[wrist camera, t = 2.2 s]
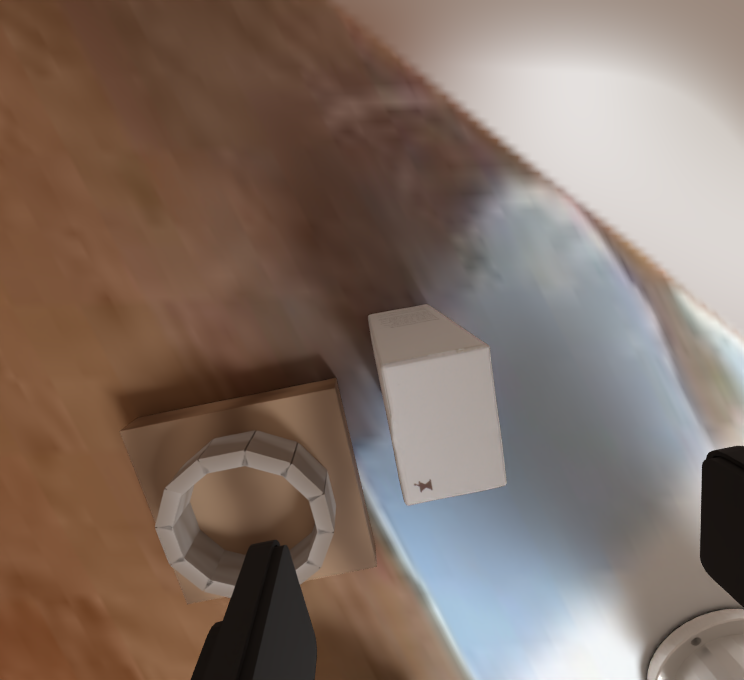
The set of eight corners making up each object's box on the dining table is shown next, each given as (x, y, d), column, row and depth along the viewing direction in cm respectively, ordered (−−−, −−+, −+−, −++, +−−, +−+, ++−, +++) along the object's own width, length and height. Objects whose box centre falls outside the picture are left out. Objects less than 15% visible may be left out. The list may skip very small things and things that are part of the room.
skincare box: (442, 384, 26) (510, 491, 15) (382, 396, 26) (402, 511, 15) (429, 299, 25) (493, 343, 13) (365, 311, 25) (374, 366, 13)
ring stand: (336, 377, 26) (332, 403, 22) (375, 545, 29) (378, 597, 25) (137, 417, 26) (92, 451, 22) (198, 580, 29) (170, 638, 25)
